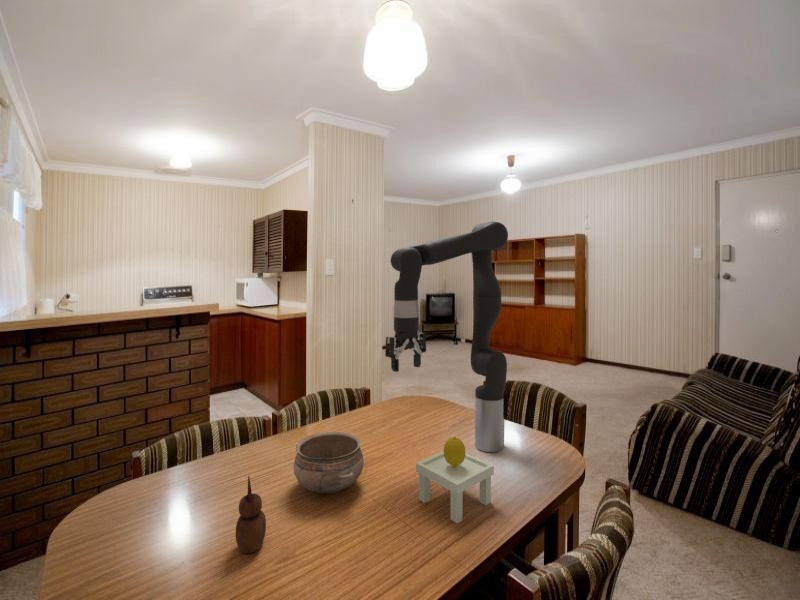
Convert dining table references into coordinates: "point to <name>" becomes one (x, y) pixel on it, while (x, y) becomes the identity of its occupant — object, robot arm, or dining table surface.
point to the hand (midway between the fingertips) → (406, 369)
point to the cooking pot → (328, 461)
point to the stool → (455, 480)
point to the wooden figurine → (250, 523)
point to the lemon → (454, 451)
